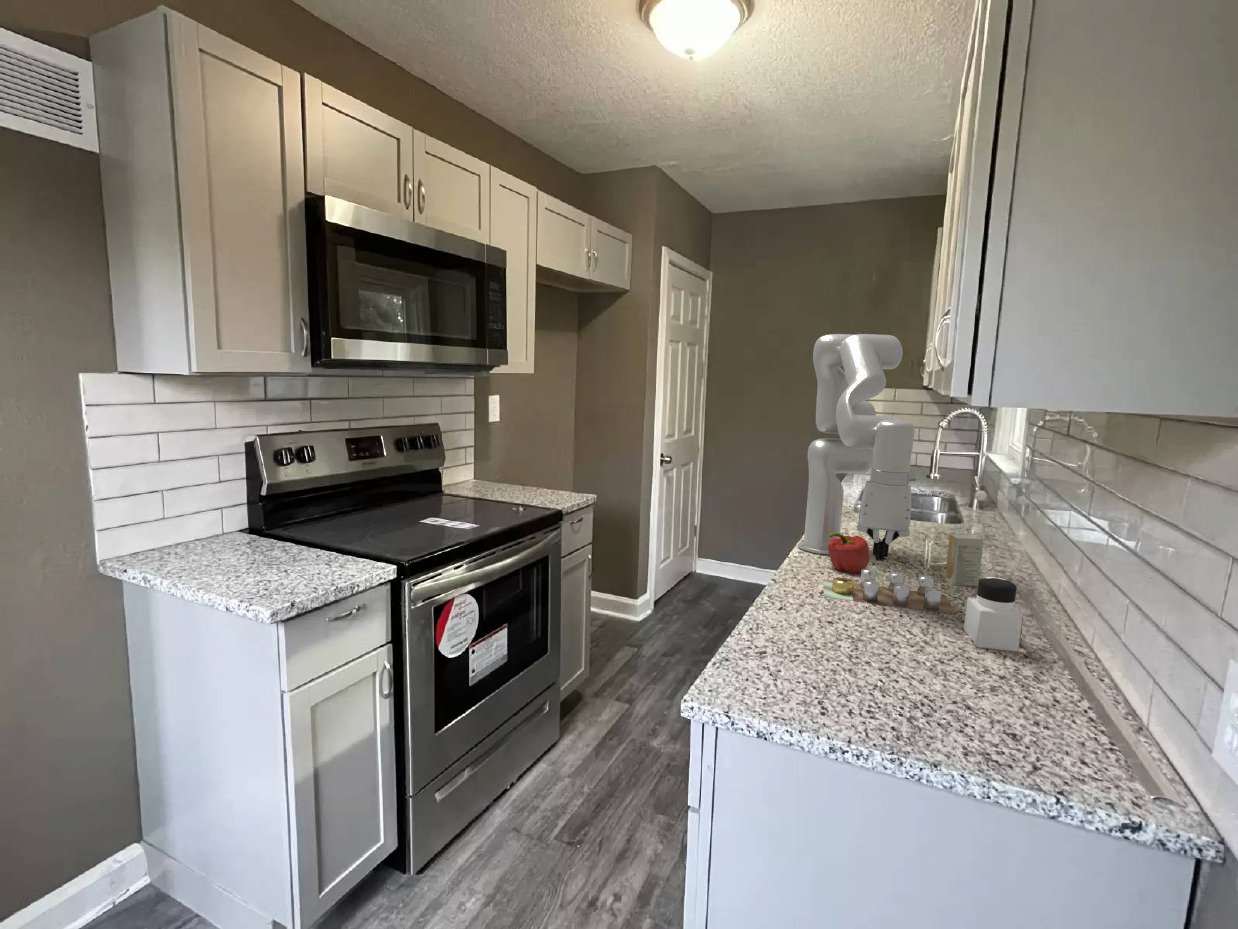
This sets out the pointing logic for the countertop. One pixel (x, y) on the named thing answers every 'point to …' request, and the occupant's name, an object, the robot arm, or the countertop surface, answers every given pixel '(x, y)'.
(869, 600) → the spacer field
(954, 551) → the skincare box
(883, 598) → the board
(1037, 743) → the countertop surface
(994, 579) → the medicine bottle
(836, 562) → the vegetable
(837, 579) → the brass knob
